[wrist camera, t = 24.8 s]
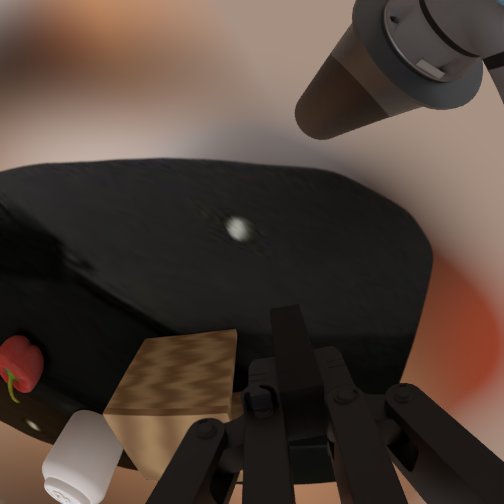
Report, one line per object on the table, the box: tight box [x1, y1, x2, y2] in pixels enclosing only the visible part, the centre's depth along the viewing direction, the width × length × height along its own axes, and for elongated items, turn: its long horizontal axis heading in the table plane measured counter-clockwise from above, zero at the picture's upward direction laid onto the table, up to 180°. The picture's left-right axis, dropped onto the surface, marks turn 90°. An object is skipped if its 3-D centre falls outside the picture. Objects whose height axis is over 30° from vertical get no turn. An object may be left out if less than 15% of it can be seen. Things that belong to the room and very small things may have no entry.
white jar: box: [42, 410, 123, 504], centre depth 40 cm, size 12×12×20 cm
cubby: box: [103, 329, 244, 482], centre depth 37 cm, size 14×13×17 cm
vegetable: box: [0, 335, 44, 403], centre depth 41 cm, size 11×10×10 cm
